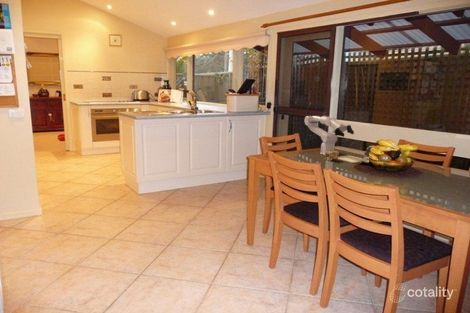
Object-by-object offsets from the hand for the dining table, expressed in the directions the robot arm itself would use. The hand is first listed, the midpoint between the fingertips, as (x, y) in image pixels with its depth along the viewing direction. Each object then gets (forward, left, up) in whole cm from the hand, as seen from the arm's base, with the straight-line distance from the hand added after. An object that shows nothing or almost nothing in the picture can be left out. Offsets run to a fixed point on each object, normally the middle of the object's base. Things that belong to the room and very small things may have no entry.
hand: (348, 134), depth 242 cm
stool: (-5, -9, -19) cm, 21 cm away
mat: (-1, +6, -19) cm, 20 cm away
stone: (+16, +7, -19) cm, 26 cm away
